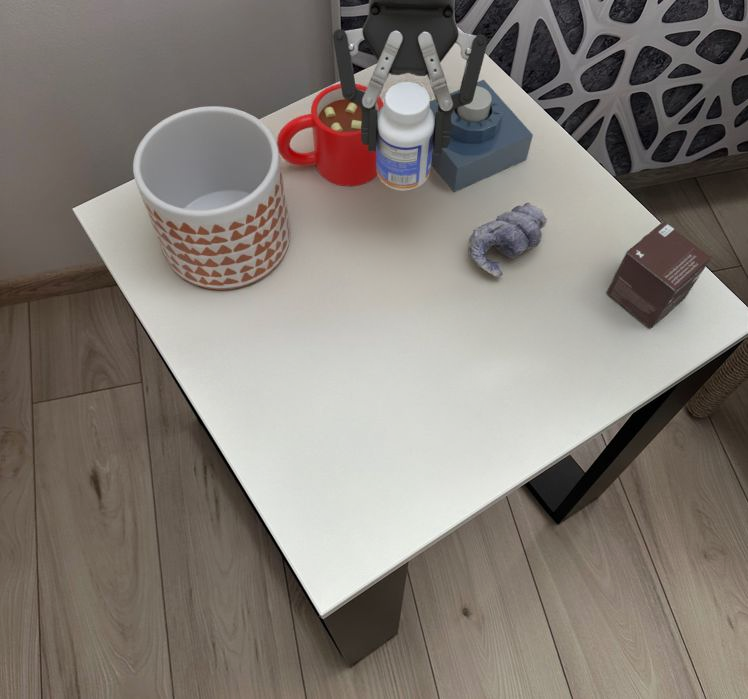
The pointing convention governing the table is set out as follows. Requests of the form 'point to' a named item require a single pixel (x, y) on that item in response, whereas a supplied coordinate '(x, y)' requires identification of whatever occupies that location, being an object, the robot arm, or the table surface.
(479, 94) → the grey short cylinder
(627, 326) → the table surface
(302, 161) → the mug
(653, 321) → the box
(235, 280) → the planter
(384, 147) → the pill bottle
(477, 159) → the button housing
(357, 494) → the table surface
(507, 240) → the seashell
